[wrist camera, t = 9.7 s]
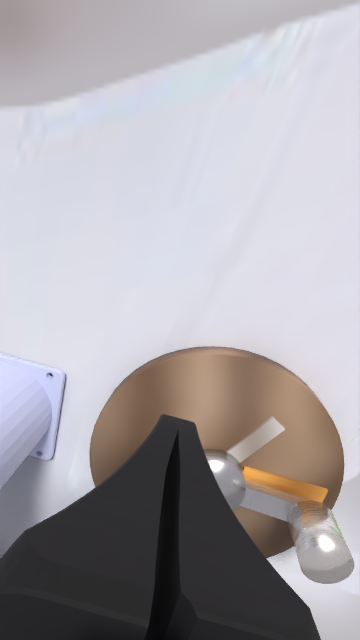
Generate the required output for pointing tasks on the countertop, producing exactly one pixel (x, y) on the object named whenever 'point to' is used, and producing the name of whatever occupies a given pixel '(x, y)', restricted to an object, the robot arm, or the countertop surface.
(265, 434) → the dial plate
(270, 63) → the countertop surface
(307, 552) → the silver dumbbell
